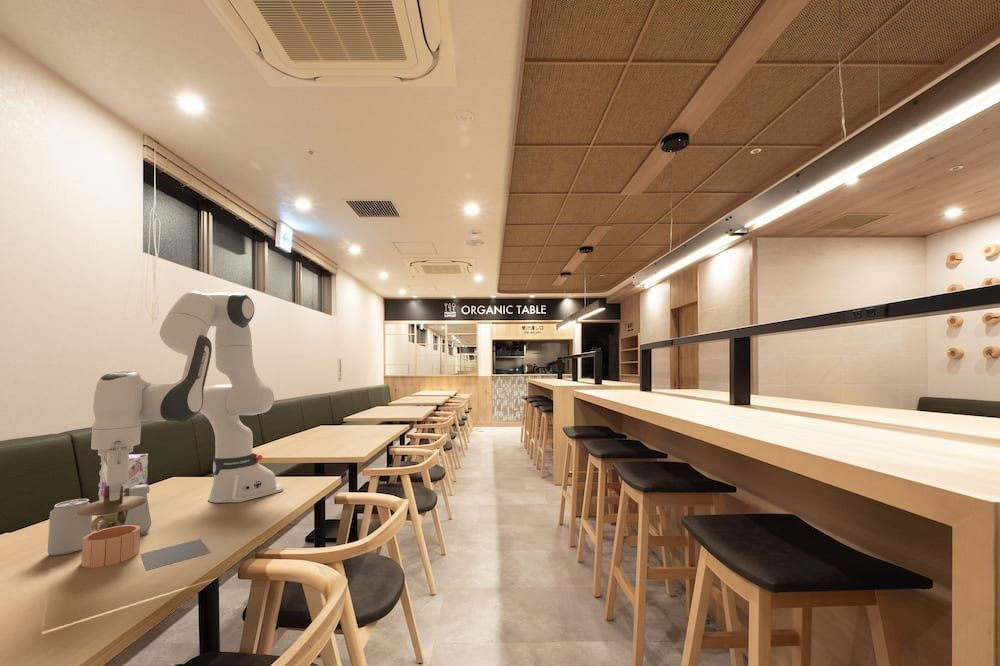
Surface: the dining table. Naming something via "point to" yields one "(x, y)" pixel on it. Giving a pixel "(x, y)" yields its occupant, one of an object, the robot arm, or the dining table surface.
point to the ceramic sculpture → (112, 520)
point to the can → (67, 527)
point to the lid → (111, 504)
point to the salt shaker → (139, 510)
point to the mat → (173, 554)
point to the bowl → (110, 546)
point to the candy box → (136, 475)
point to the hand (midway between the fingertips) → (113, 498)
